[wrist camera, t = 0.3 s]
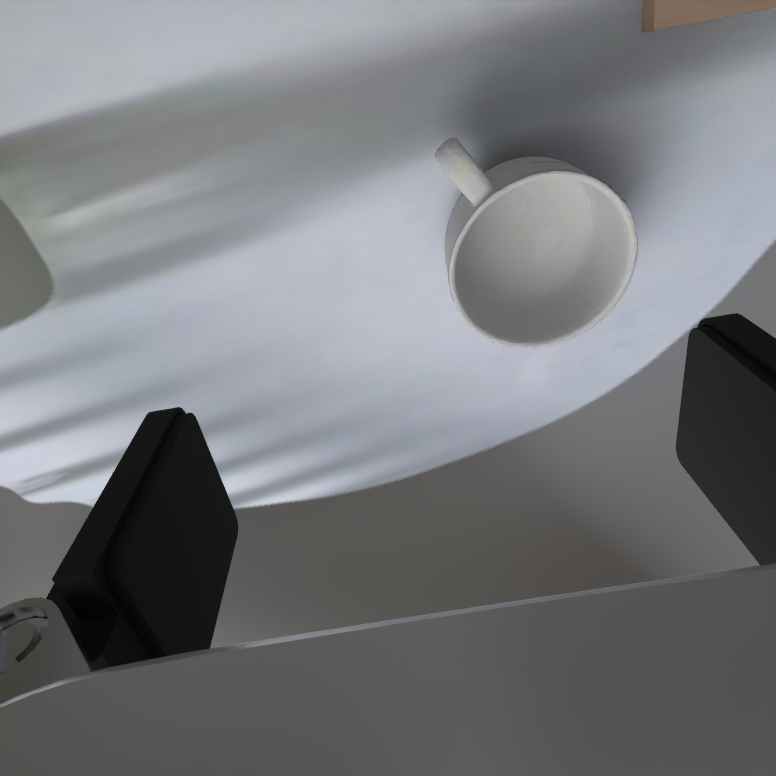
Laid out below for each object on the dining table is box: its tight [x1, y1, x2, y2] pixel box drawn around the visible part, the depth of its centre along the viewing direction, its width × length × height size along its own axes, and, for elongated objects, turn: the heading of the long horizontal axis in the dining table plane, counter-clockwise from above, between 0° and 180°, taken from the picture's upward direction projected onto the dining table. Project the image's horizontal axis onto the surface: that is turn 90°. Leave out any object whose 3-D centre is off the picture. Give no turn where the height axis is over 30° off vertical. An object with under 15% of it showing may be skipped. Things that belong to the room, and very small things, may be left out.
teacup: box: [435, 138, 638, 349], centre depth 35 cm, size 14×11×8 cm
